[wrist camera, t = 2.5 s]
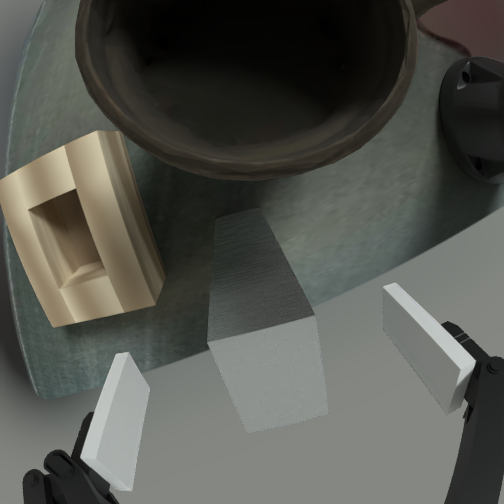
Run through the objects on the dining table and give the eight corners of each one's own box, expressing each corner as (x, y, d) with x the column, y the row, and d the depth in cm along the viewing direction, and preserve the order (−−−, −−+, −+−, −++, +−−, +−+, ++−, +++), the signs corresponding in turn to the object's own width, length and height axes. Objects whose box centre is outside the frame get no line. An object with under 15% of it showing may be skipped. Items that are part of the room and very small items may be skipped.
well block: (122, 131, 24) (96, 130, 18) (167, 274, 29) (155, 305, 23) (30, 173, 24) (-6, 183, 18) (76, 297, 29) (53, 327, 23)
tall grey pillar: (259, 207, 28) (315, 315, 11) (273, 266, 30) (328, 413, 13) (215, 218, 28) (207, 342, 11) (232, 277, 30) (247, 433, 13)
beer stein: (223, 181, 27) (224, 283, 8) (149, 89, 23) (9, 8, 4) (359, 88, 24) (539, 51, 6) (290, -1, 21) (381, -141, 2)
